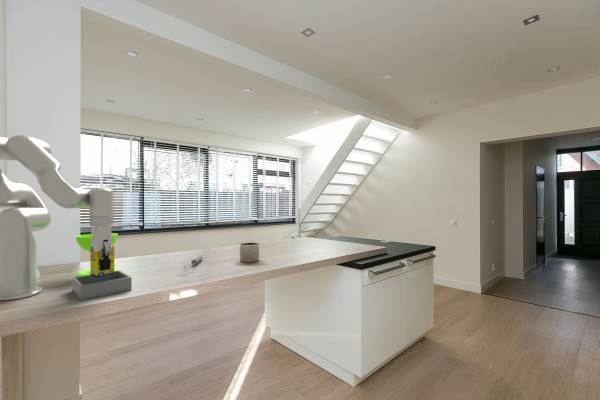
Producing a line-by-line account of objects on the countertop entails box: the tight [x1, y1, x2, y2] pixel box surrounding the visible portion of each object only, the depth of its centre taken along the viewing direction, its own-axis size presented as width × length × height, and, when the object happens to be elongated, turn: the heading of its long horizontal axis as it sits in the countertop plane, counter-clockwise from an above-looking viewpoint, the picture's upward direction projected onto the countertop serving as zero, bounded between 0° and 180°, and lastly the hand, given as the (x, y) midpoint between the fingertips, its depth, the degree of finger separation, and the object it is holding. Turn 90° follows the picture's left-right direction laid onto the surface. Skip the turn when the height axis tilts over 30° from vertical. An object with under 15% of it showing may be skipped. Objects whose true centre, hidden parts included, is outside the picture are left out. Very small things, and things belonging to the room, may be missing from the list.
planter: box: [239, 241, 260, 263], centre depth 163 cm, size 11×11×10 cm
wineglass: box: [75, 232, 119, 277], centre depth 134 cm, size 16×16×18 cm
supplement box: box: [89, 245, 115, 277], centre depth 109 cm, size 6×6×11 cm
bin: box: [71, 269, 132, 301], centre depth 109 cm, size 16×16×5 cm
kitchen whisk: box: [180, 255, 203, 274], centre depth 149 cm, size 6×34×6 cm, turn 7°
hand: (102, 267), depth 109 cm, fingers closed on supplement box, 6 cm apart
